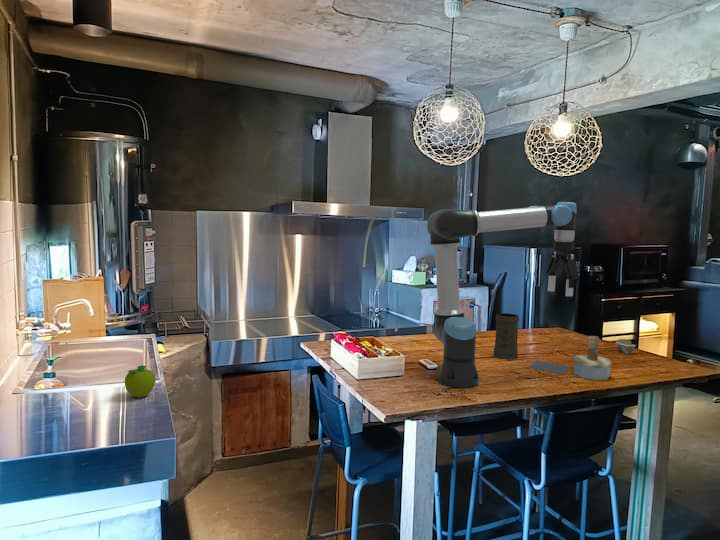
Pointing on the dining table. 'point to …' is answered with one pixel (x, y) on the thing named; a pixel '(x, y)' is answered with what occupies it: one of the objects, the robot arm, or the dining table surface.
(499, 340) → the beer stein
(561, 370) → the mat
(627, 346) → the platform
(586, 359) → the lid
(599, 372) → the bowl
